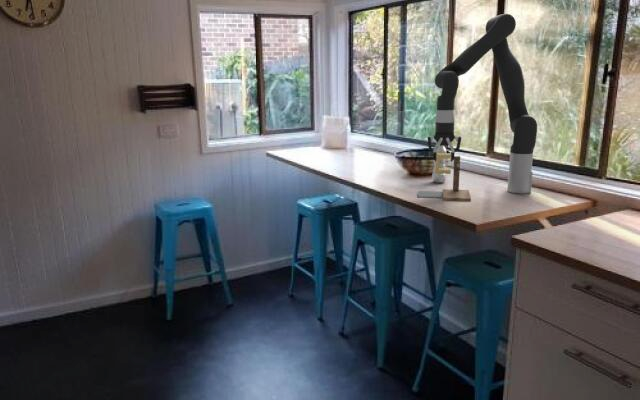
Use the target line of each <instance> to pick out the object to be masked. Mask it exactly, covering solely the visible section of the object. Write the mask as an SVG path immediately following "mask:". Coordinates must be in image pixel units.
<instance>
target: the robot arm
mask: <svg viewBox="0 0 640 400" xmlns="http://www.w3.org/2000/svg"><path fill="white" fill-rule="evenodd" d="M516 25H517V23H516V18H515V17H514V16H513V15H512V14H510V13H503V14H499V15H496V16H493V17H491V18H489V19H488V21H487V22H486V24H485V34H483V35H482V36H481V37H480V38H479V39H478V40H477V41H474V42H473V43H472V44H471V45H469V46H468V47H467V48H466V49H465V50H463V51H462V52H461V53H460V54H459V55H458V56H457V57H456V58H455V59H454V60H453V61H452V62H450V63H449V64H448V65H446V66H444V68H442V69H441V70H439V72H438V73H437V74H436V75H435V78H434V84H435V86H436V87H437V88H438V89H441V94H440V95H439V96H438V97H437V100H436V112H435V129H434V130H435V131H434V132H435V133H434V136H433V135H428V136H427V144H428V145H427V146H428V151H429V152H432V161H434V160H435V161H436V155H437V152H436V151H437V149H438V147H439V145H440V146H443V145H444V147H445V146H447V147H449V148H450V153H451V159H450V162H451V163H452V162H454V156H455V153H456V152H459V151H460V147H461V144H462V143H461V141H462V137H461V136H456V135H455V119H456V118H455V101H456V100H455V99H456V97H457V93H458V89H459V84H460V80H459V77H460V76H463V75H465V74H466V73H468V72H469V70H471V69H472V68H473V67H474V66H475V65H476V64H477V63H478V62H479V61H480V60H481V59H482V58H483V57H484V56H485V55H486V54H488V52H490V51H492V54H493V57H494V58H493V59H494V61H495V62H494V63H495V65H496V68H497V74H498V80H499V82H500V86H501V90H502V93H503V97H504V99H505V104H506V106H507V111H508V119H509V127H510V131H511V132H512V133H513V140H512V144H511V146H510V147H509V148H510V151H509V164H508V165H509V166H508V175H507V177H508V178H507V192H508V193H512V194H519V195H520V194H521V195H522V194H531V193H532V183H533V173H534V172H533V157H534V149H535V146H536V144H537V143H536V141H537V135H538V123H537V122H538V121H537V120H536V119H535V118H534V117H533V116H530V115H529V112H528V108H527V105H526V101H525V93H526V92H525V90H526V87H525V85H526V83H525V78H524V73H523V69H522V66H521V63H520V62H519V60H518V59H517V58H516V57H515V55H514V54H513V52H512V50H511V49H510V46H509V42H508V38H509V36H511V35H512V34H513V33H514V31H515V30H516ZM454 140H455V142H456V145H455V146H456V147H455V148H454V146H453V141H454ZM433 141H435V145H434V147H432V146H433V145H432V142H433ZM436 142H437V144H436Z"/></svg>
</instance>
